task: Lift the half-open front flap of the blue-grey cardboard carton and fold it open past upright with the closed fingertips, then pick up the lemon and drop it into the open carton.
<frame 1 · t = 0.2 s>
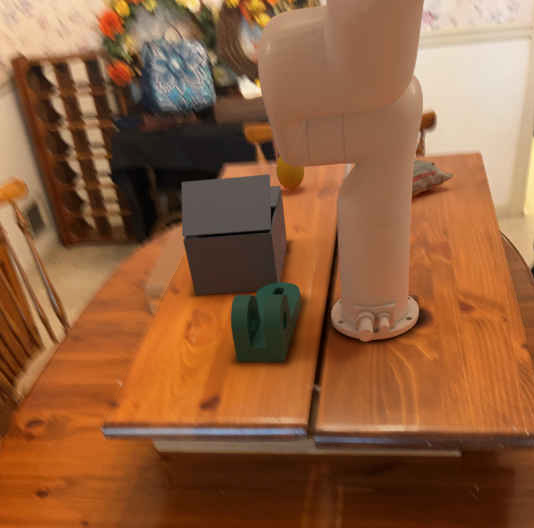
packaged food: (413, 193, 123), on the table
bracket: (272, 327, 96), on the table
carton: (243, 267, 110), on the table
lemon: (292, 191, 131), on the table
carton flap: (225, 205, 97), point 13 cm above the table, hinge at 45.0°
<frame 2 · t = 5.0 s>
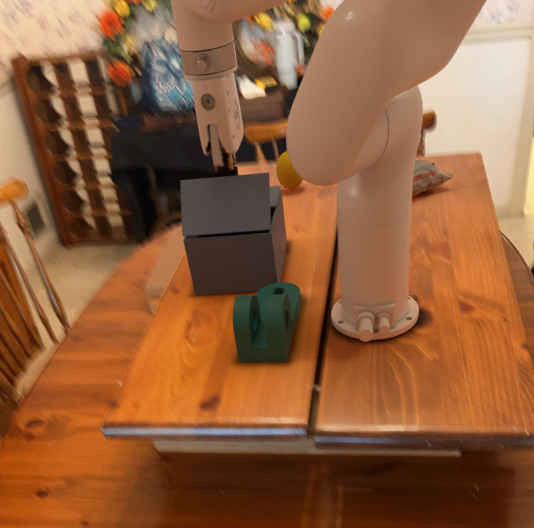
hand: (230, 194, 101), 13 cm above the table, tool pointing down, fingers closed
carton flap: (225, 204, 97), point 13 cm above the table, hinge at 49.6°, touching gripper
everything else where it was.
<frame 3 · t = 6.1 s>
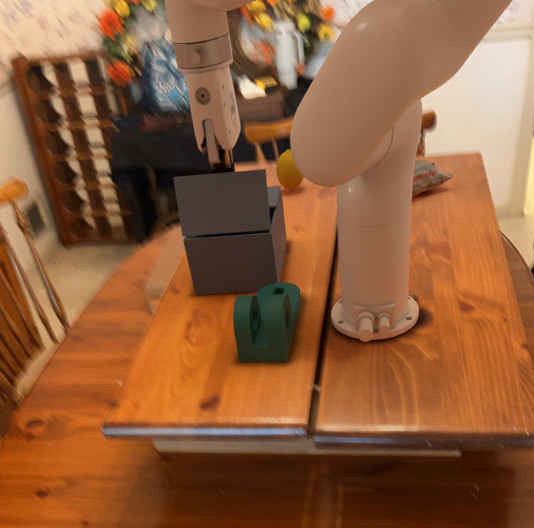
hand: (227, 193, 97), 14 cm above the table, tool pointing down, fingers closed
carton flap: (222, 203, 95), point 14 cm above the table, hinge at 75.4°, touching gripper
everything else where it was.
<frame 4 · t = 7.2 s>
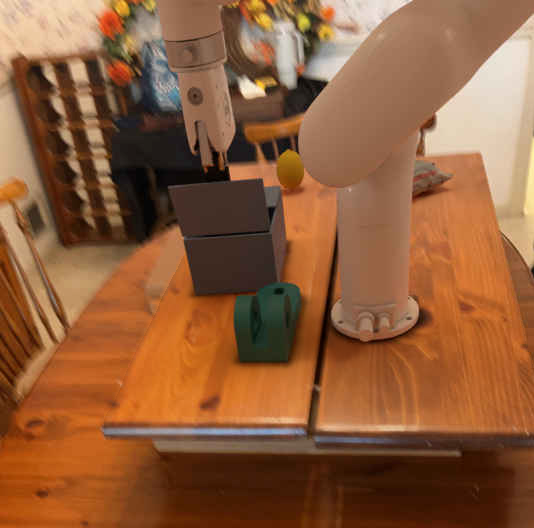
hand: (221, 196, 94), 15 cm above the table, tool pointing down, fingers closed
carton flap: (220, 208, 94), point 14 cm above the table, hinge at 101.7°, touching gripper
everything else where it was.
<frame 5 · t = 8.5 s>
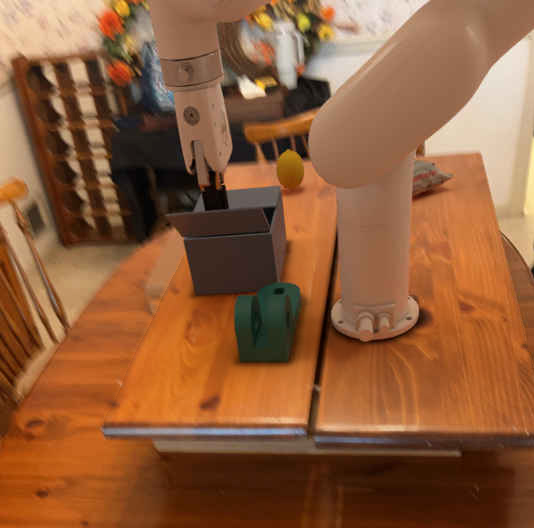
hand: (218, 215, 92), 14 cm above the table, tool pointing down, fingers closed
carton flap: (219, 222, 93), point 13 cm above the table, hinge at 135.1°, touching gripper
everything else where it was.
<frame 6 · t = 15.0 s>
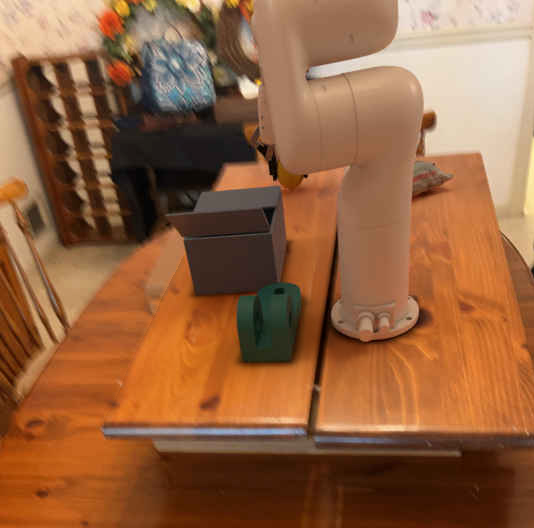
hand: (290, 176, 129), 3 cm above the table, tool pointing down, fingers closed on lemon, 5 cm apart
lemon: (292, 191, 131), on the table, touching gripper
carton flap: (219, 222, 93), point 13 cm above the table, hinge at 135.2°
everything else where it was.
when the fingers open (10 cm above the table, at t = 23.2 s): lemon drops 6 cm, resting on carton.
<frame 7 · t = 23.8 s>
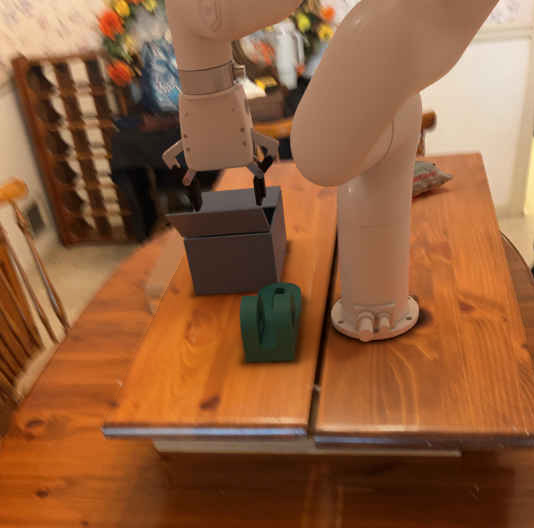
hand: (229, 205, 99), 12 cm above the table, tool pointing down, fingers open, 9 cm apart
lemon: (238, 271, 106), point 1 cm above the table, touching carton
everything else where it was.
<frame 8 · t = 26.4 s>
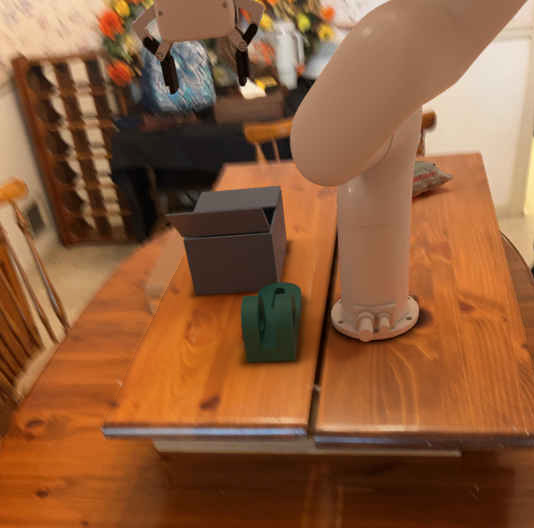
hand: (209, 87, 88), 28 cm above the table, tool pointing down, fingers open, 9 cm apart
nothing on the table moved.
at the end: carton flap at +135° (first picture: +45°); lemon inside the target area in the carton (0.5 cm from its centre), point 1.3 cm above the carton's base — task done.
